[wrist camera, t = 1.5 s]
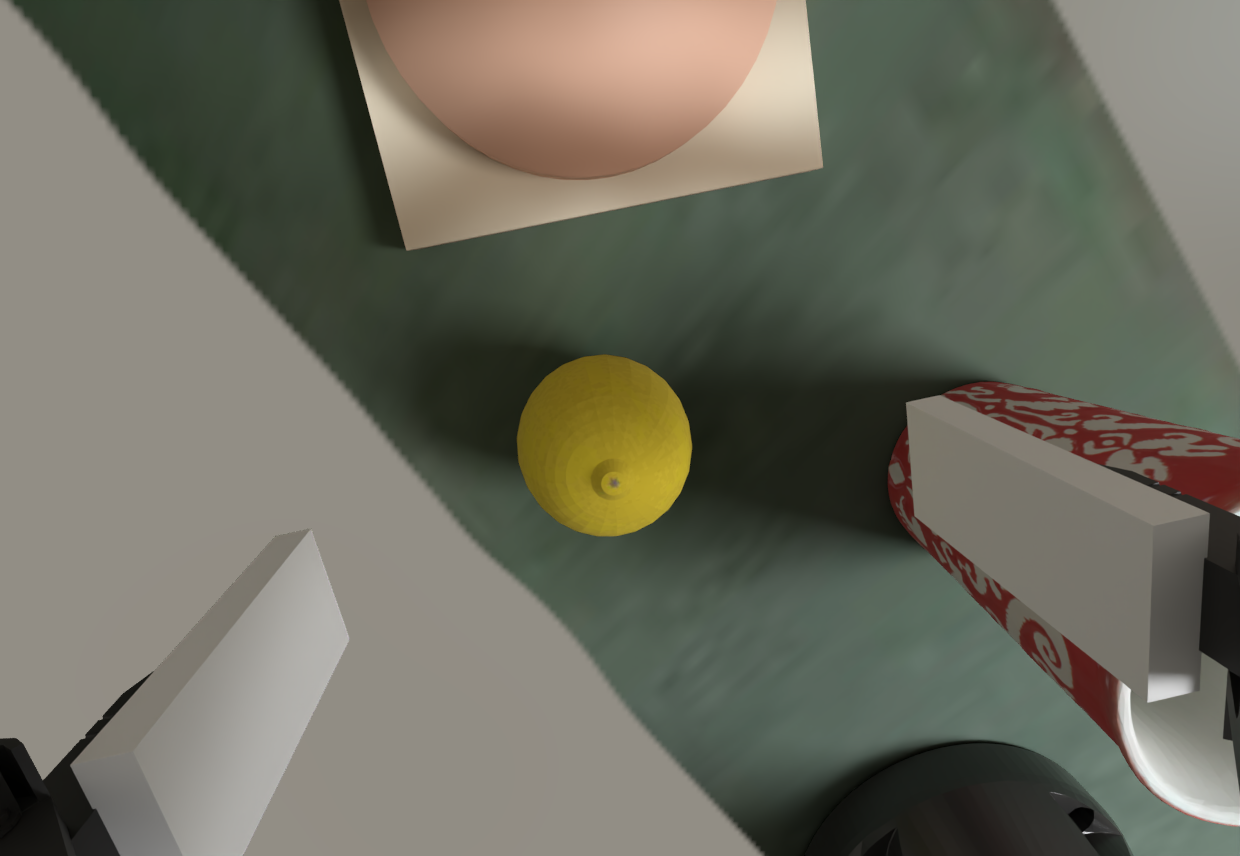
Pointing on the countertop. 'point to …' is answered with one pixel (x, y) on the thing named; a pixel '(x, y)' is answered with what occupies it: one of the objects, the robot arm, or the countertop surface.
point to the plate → (578, 105)
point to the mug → (1145, 732)
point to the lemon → (604, 445)
